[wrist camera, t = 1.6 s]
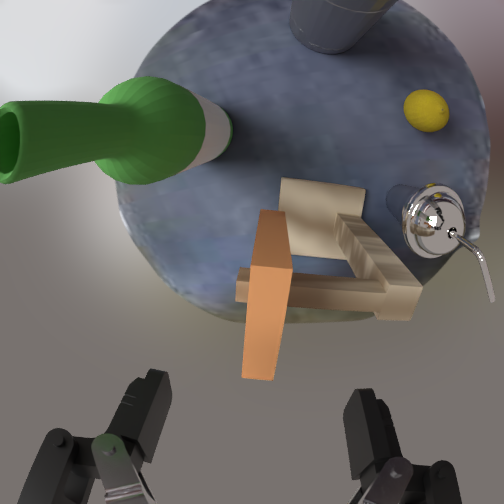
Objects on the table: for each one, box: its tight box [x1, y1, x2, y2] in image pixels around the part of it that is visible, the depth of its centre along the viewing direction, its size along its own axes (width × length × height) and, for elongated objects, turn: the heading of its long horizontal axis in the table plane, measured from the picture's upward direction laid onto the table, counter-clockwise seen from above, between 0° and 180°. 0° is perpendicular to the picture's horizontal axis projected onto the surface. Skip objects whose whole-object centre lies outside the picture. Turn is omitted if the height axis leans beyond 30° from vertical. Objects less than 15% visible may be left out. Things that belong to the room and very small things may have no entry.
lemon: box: [404, 90, 449, 132], centre depth 26 cm, size 6×6×8 cm
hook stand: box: [235, 177, 423, 320], centre depth 27 cm, size 10×14×20 cm
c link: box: [242, 209, 293, 381], centre depth 20 cm, size 8×2×10 cm, turn 176°
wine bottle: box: [0, 76, 233, 185], centre depth 19 cm, size 8×8×30 cm
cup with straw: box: [386, 183, 495, 303], centre depth 25 cm, size 8×9×20 cm
